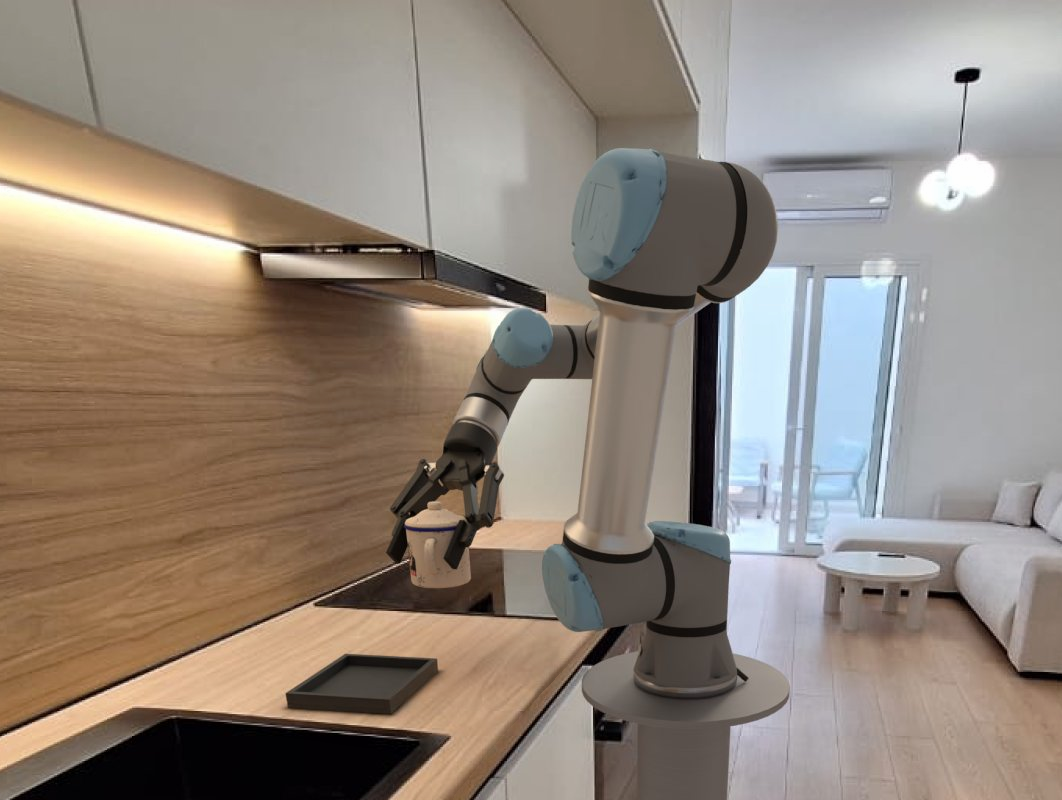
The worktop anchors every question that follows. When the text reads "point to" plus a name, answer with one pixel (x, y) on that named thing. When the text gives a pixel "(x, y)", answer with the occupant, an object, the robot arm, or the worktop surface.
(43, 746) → the worktop surface
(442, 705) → the worktop surface
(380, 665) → the base pad
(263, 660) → the worktop surface
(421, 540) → the teacup with lid
